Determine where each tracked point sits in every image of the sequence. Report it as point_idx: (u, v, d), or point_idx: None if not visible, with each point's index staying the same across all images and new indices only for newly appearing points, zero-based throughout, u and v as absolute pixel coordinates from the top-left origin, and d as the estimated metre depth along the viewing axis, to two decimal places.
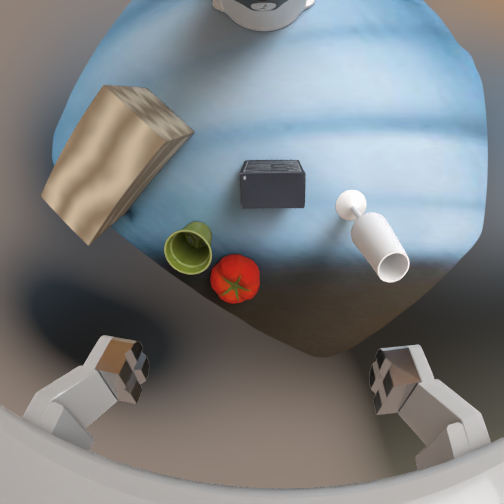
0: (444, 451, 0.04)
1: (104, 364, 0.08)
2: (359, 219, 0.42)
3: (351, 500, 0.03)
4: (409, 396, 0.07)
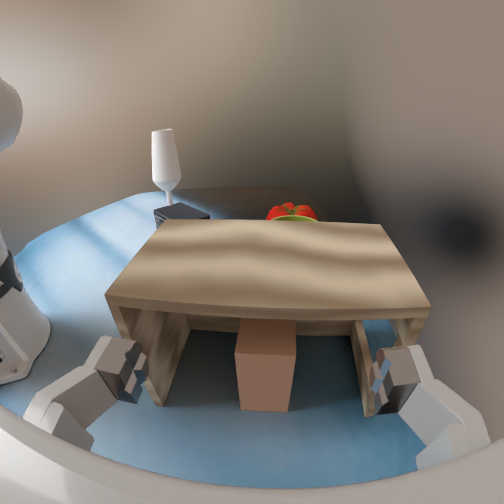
0: (444, 451, 0.04)
1: (104, 364, 0.08)
2: (162, 179, 0.58)
3: (351, 500, 0.03)
4: (409, 396, 0.07)
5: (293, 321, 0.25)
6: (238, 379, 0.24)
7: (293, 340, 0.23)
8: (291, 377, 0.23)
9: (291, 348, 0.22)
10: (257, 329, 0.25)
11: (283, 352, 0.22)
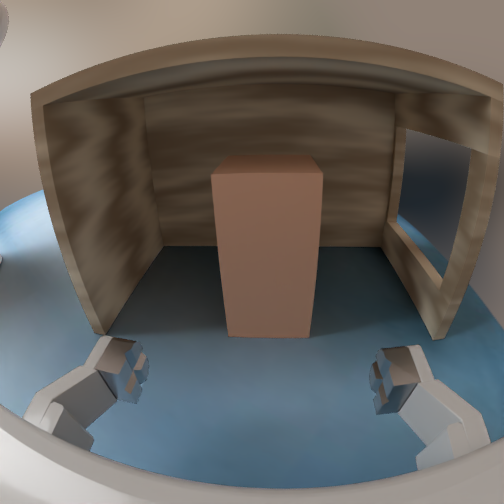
0: (444, 451, 0.04)
1: (104, 364, 0.08)
2: None
3: (351, 500, 0.03)
4: (409, 396, 0.07)
5: (308, 157, 0.16)
6: (220, 250, 0.14)
7: (314, 165, 0.13)
8: (316, 237, 0.14)
9: (313, 169, 0.13)
10: (251, 161, 0.15)
11: (300, 171, 0.12)
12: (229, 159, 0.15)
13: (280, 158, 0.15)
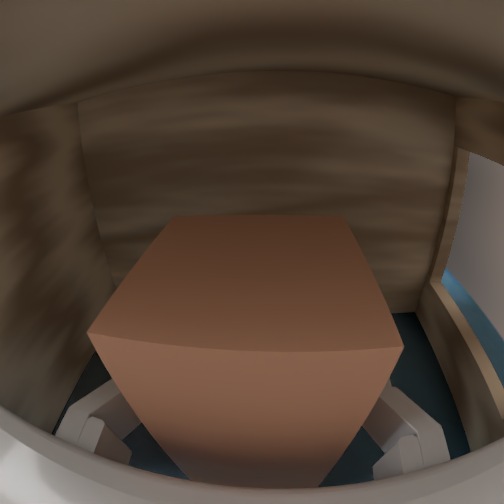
0: (395, 464, 0.05)
1: None
2: None
3: (351, 500, 0.03)
4: None
5: (343, 228, 0.07)
6: (154, 435, 0.06)
7: (367, 281, 0.05)
8: (350, 435, 0.05)
9: (371, 311, 0.04)
10: (211, 250, 0.06)
11: (338, 333, 0.04)
12: (167, 236, 0.07)
13: (281, 235, 0.07)
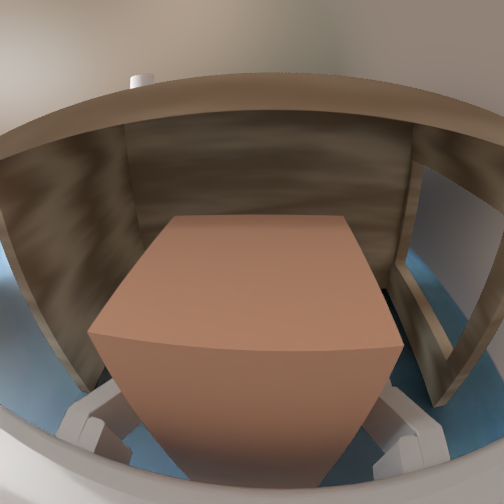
0: (395, 464, 0.05)
1: None
2: None
3: (351, 500, 0.03)
4: None
5: (343, 227, 0.07)
6: (155, 434, 0.06)
7: (367, 280, 0.05)
8: (350, 435, 0.05)
9: (371, 310, 0.04)
10: (212, 250, 0.06)
11: (337, 332, 0.04)
12: (168, 235, 0.07)
13: (281, 235, 0.07)
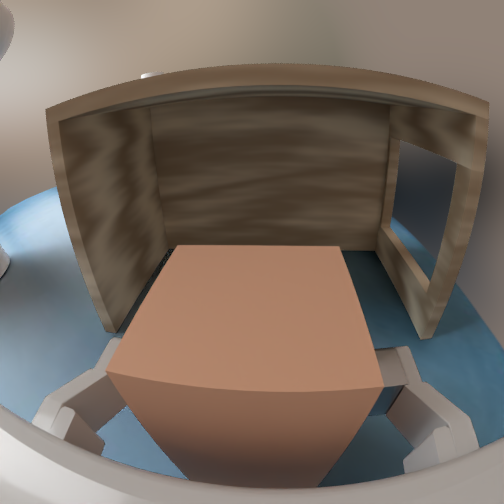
0: (430, 455, 0.05)
1: None
2: None
3: (351, 500, 0.03)
4: (396, 398, 0.07)
5: (338, 261, 0.08)
6: (164, 448, 0.06)
7: (357, 320, 0.06)
8: (339, 450, 0.06)
9: (358, 351, 0.05)
10: (214, 287, 0.07)
11: (325, 374, 0.04)
12: (172, 269, 0.08)
13: (279, 270, 0.07)
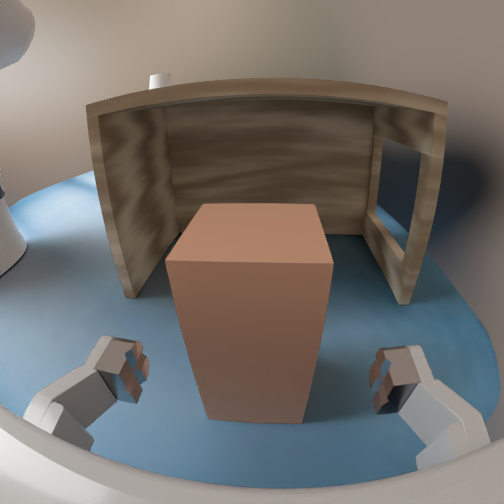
0: (444, 451, 0.04)
1: (103, 364, 0.08)
2: None
3: (351, 500, 0.03)
4: (409, 396, 0.07)
5: (312, 211, 0.12)
6: (188, 347, 0.10)
7: (320, 236, 0.09)
8: (317, 339, 0.10)
9: (319, 249, 0.09)
10: (231, 222, 0.11)
11: (298, 256, 0.08)
12: (202, 215, 0.11)
13: (272, 214, 0.11)
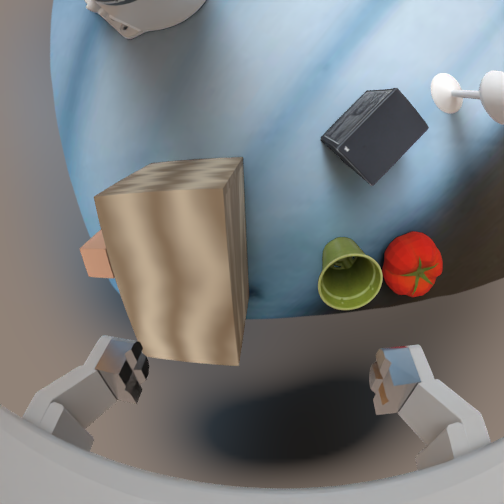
0: (444, 451, 0.04)
1: (104, 364, 0.08)
2: (484, 91, 0.18)
3: (351, 500, 0.03)
4: (409, 396, 0.07)
5: (108, 277, 0.39)
6: (92, 237, 0.40)
7: (96, 276, 0.39)
8: None
9: (92, 275, 0.39)
10: (96, 258, 0.37)
11: (88, 271, 0.39)
12: (97, 250, 0.36)
13: (103, 267, 0.38)
